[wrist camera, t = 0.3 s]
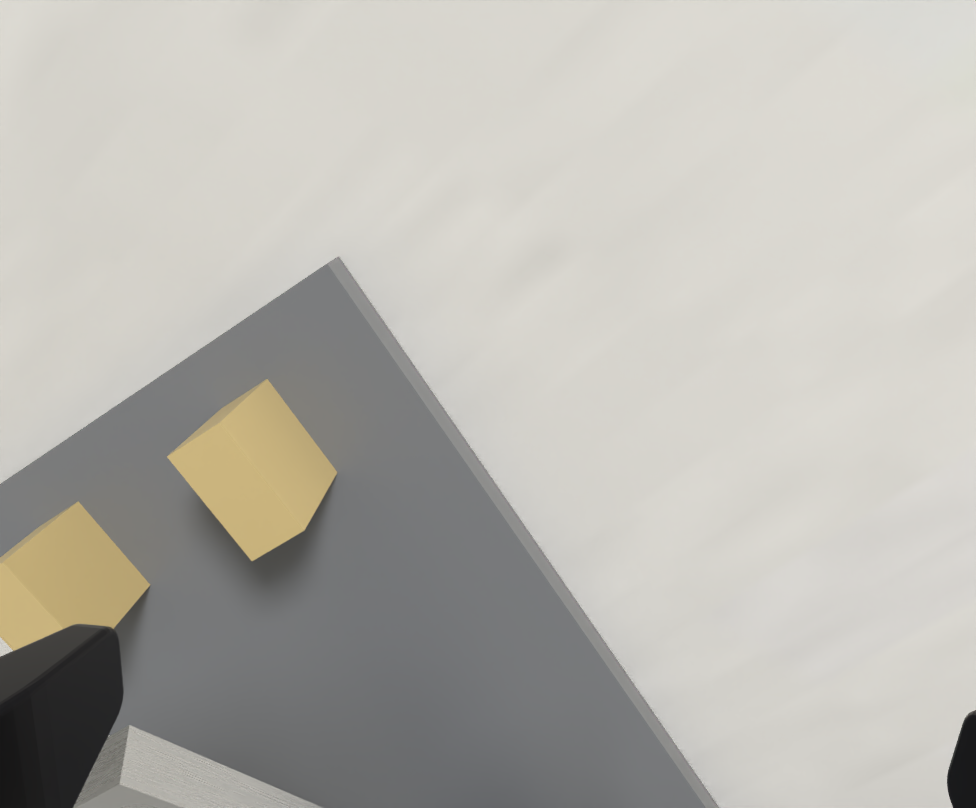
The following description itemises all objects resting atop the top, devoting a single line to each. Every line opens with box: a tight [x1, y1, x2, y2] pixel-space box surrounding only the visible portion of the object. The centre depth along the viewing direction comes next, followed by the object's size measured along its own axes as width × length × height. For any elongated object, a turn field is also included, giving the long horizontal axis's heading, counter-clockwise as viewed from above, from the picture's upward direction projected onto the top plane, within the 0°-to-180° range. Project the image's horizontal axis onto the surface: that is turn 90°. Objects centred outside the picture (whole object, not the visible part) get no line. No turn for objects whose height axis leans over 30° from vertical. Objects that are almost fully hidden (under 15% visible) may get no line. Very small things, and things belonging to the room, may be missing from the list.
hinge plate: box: [0, 257, 719, 808], centre depth 22 cm, size 24×14×4 cm, turn 33°
